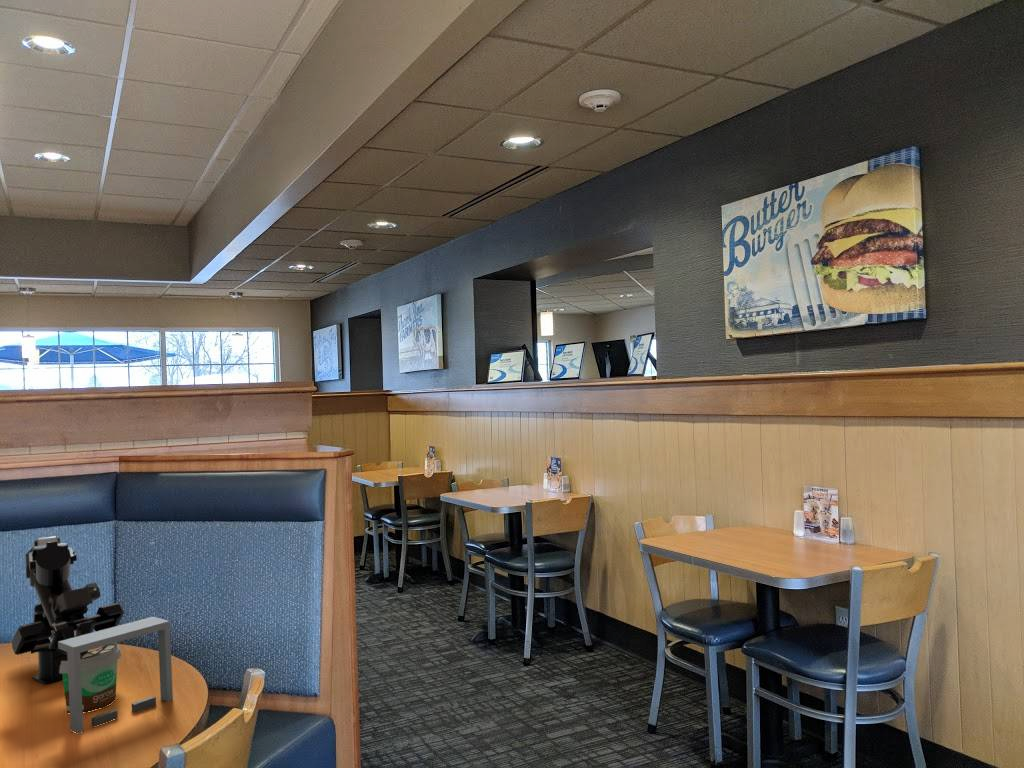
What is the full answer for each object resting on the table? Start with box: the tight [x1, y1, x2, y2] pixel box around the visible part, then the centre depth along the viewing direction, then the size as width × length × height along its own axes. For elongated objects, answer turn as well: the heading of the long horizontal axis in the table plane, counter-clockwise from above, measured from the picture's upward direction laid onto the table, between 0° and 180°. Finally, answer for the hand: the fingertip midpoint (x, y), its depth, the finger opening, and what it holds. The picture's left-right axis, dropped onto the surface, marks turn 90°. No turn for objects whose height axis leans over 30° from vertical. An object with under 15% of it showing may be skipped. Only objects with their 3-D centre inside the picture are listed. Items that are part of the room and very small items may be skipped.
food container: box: [59, 642, 122, 714], centre depth 145 cm, size 12×6×10 cm, turn 168°
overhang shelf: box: [58, 616, 174, 734], centre depth 141 cm, size 6×17×15 cm, turn 143°
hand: (85, 663), depth 148 cm, fingers closed
